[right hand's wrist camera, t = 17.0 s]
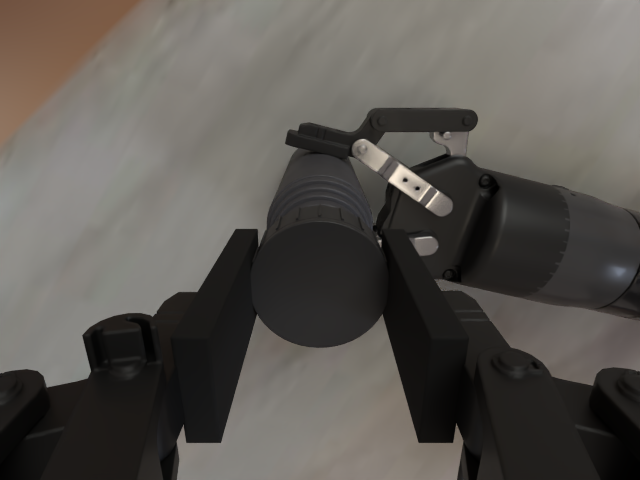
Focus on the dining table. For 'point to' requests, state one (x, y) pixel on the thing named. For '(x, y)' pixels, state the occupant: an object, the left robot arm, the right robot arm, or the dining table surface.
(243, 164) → the dining table surface
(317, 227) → the cap
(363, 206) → the bottle
